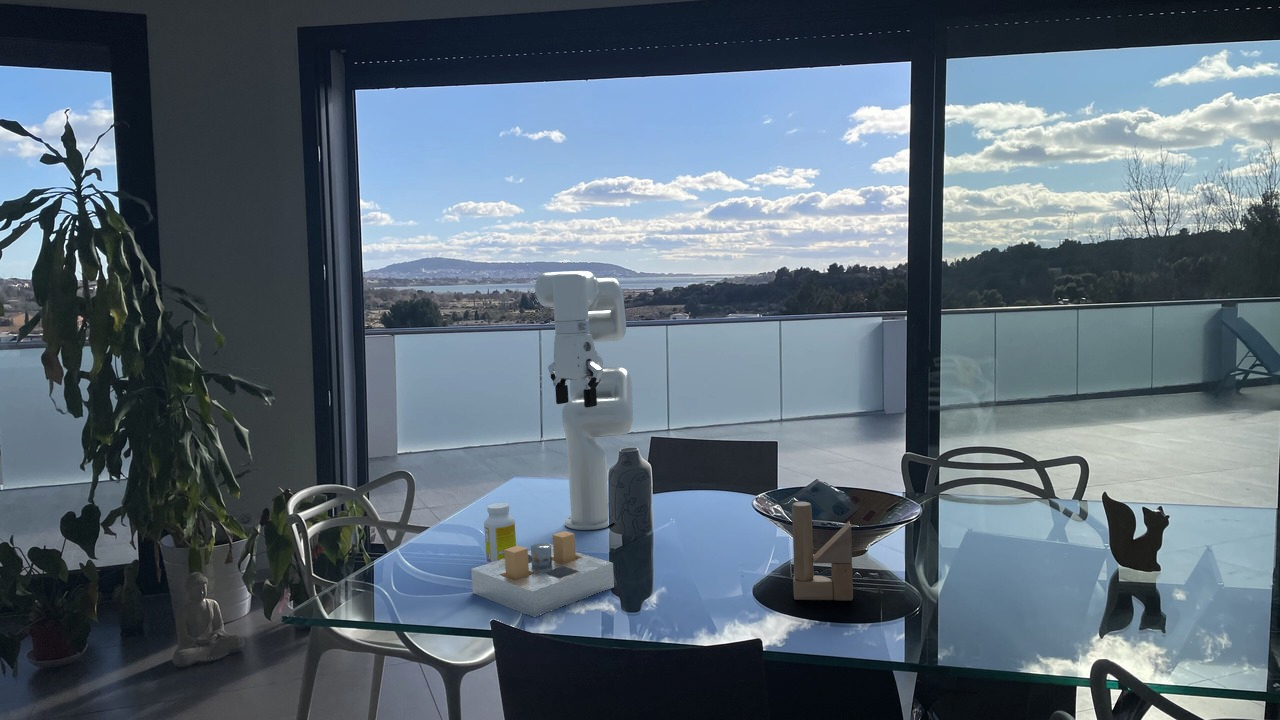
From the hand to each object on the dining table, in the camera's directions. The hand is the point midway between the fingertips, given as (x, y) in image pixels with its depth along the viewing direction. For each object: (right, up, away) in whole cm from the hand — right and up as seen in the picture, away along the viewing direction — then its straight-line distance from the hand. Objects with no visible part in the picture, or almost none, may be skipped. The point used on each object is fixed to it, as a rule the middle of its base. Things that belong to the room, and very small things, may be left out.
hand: (576, 404), depth 200 cm
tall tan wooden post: (-9, -37, -25) cm, 45 cm away
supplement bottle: (-16, -35, -3) cm, 38 cm away
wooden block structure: (+49, -35, -32) cm, 68 cm away
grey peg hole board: (-5, -36, -21) cm, 42 cm away
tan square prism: (-1, -35, -17) cm, 39 cm away
